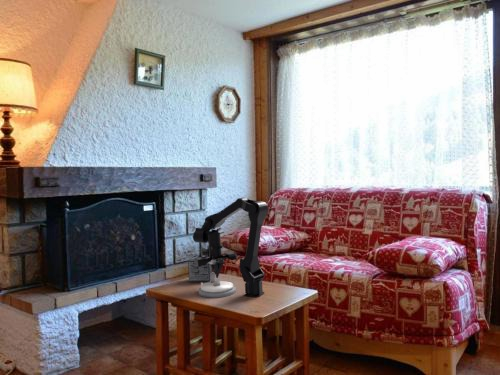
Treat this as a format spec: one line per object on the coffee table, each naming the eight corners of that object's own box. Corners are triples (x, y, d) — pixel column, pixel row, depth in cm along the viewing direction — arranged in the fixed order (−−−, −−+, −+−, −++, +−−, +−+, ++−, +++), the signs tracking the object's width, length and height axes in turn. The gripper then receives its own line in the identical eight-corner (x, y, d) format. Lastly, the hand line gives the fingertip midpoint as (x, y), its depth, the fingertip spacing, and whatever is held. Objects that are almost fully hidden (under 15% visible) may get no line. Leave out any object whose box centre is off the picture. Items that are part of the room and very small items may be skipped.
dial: (237, 289, 180) (237, 277, 180) (205, 294, 175) (205, 281, 175) (227, 282, 193) (226, 270, 193) (197, 286, 188) (196, 274, 188)
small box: (212, 278, 208) (211, 257, 208) (210, 282, 202) (209, 260, 201) (191, 278, 209) (190, 257, 209) (188, 282, 203) (187, 260, 203)
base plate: (241, 288, 188) (241, 281, 188) (224, 299, 174) (223, 290, 173) (210, 285, 195) (210, 278, 195) (191, 295, 181) (191, 287, 180)
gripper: (226, 238, 201) (228, 270, 202) (188, 244, 193) (191, 277, 194) (236, 241, 191) (238, 275, 192) (197, 247, 183) (200, 283, 184)
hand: (217, 277), depth 191 cm, fingers closed
